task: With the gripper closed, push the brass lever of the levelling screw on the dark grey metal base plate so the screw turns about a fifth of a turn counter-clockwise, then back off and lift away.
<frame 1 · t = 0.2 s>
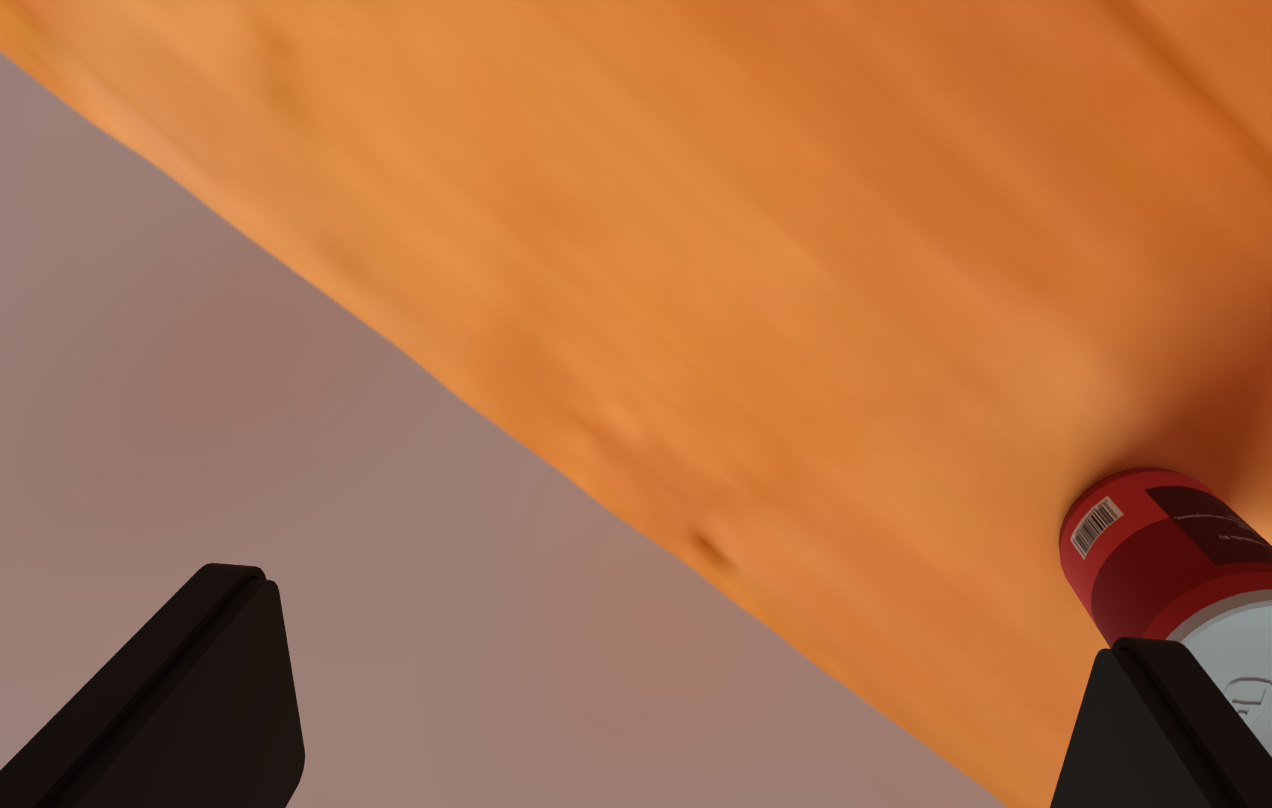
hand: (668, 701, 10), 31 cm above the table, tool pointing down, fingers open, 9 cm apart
canned food: (1131, 531, 43), on the table
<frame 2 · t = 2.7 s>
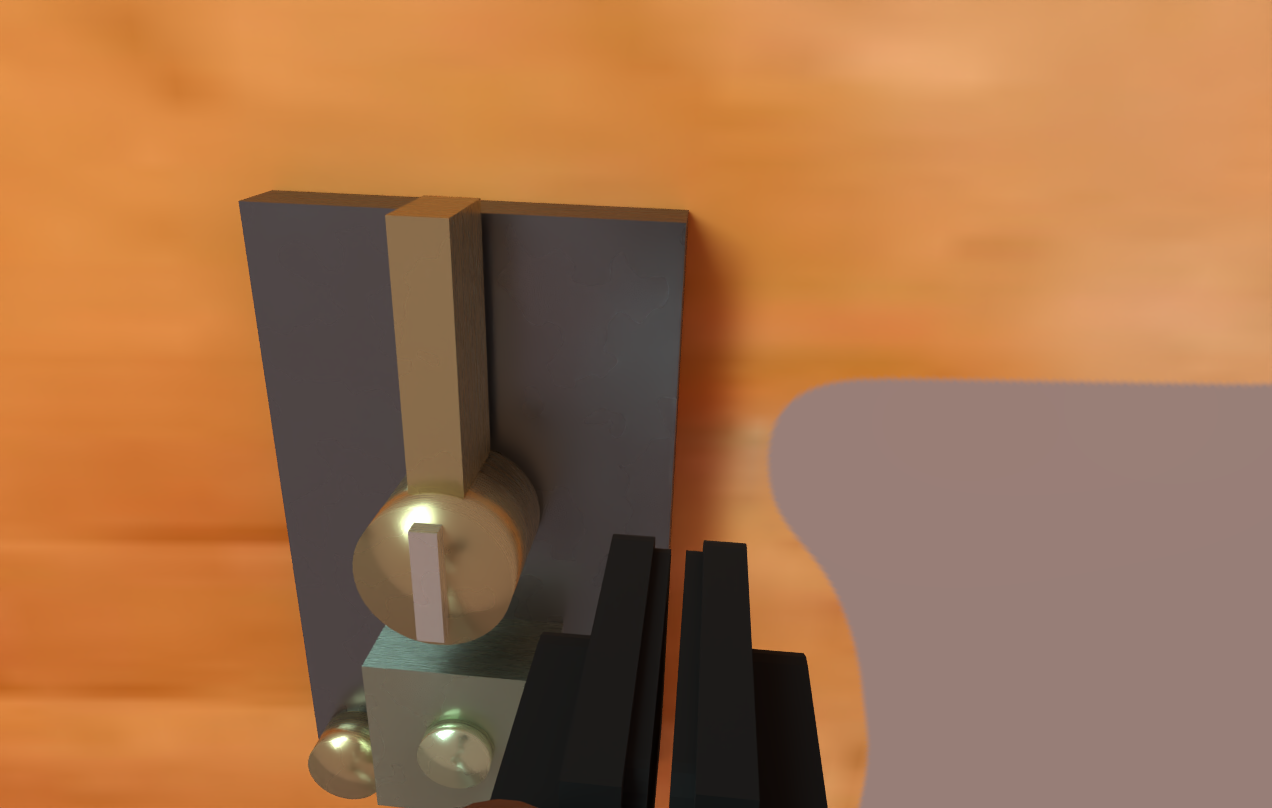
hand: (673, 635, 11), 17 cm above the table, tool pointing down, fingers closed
lever handle: (442, 428, 24), point 5 cm above the table, hinge at 0.0°
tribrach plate: (489, 512, 30), on the table
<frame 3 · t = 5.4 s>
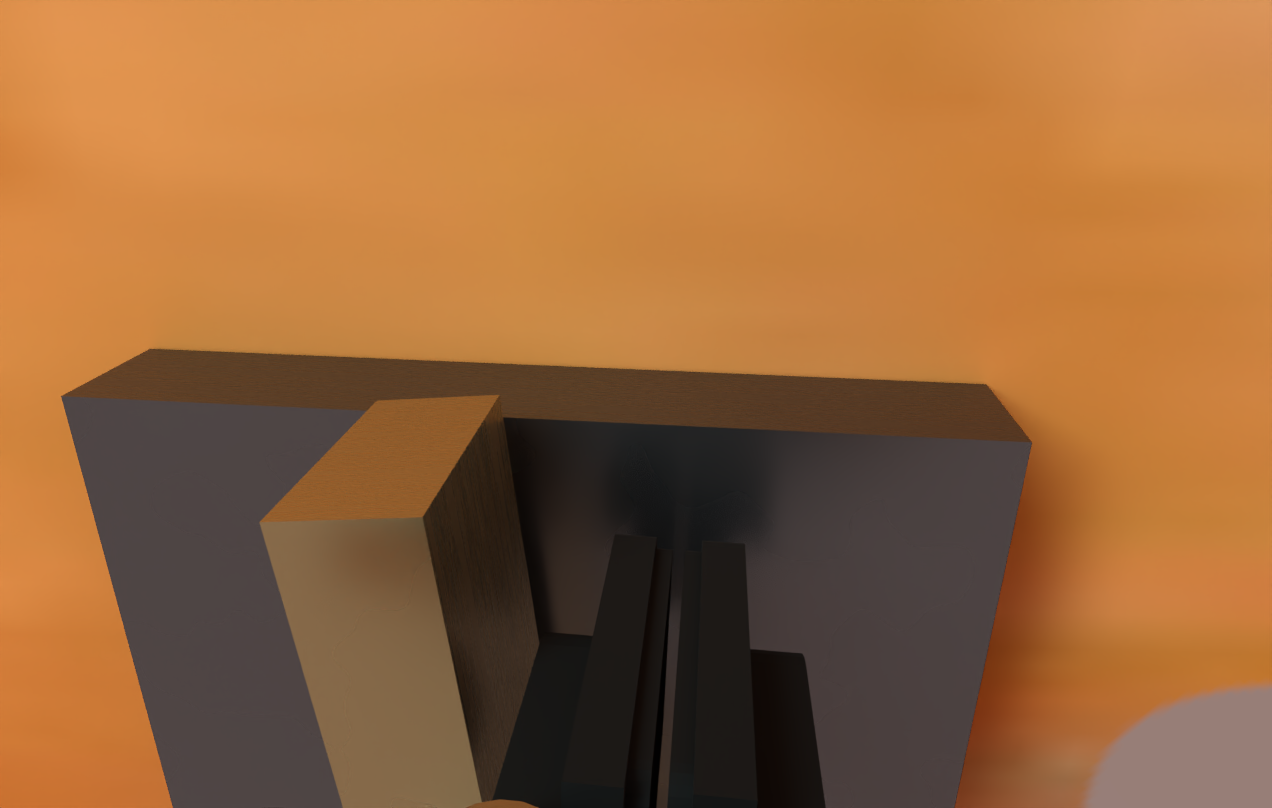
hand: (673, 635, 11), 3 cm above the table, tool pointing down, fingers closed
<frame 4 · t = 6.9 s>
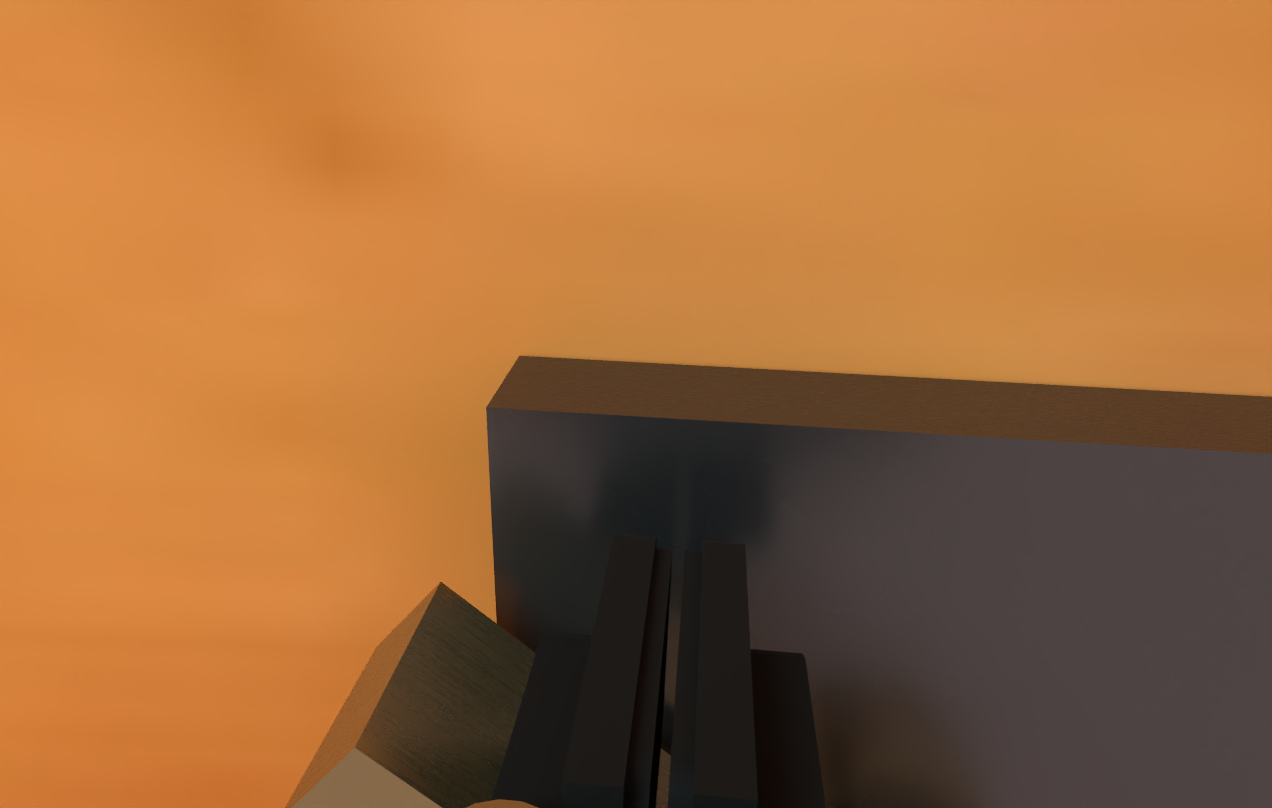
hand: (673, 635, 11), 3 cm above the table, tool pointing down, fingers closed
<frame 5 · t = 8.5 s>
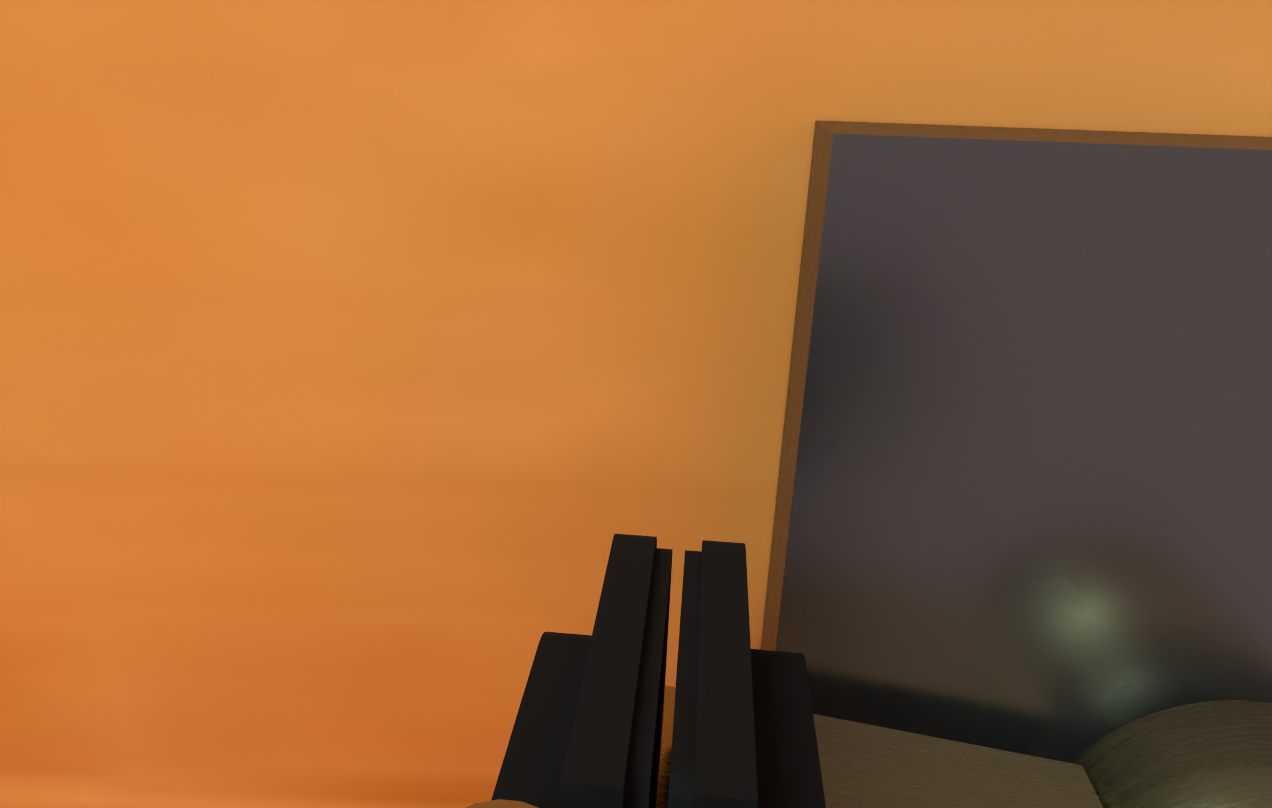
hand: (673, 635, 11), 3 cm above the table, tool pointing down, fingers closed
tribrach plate: (1114, 777, 15), on the table
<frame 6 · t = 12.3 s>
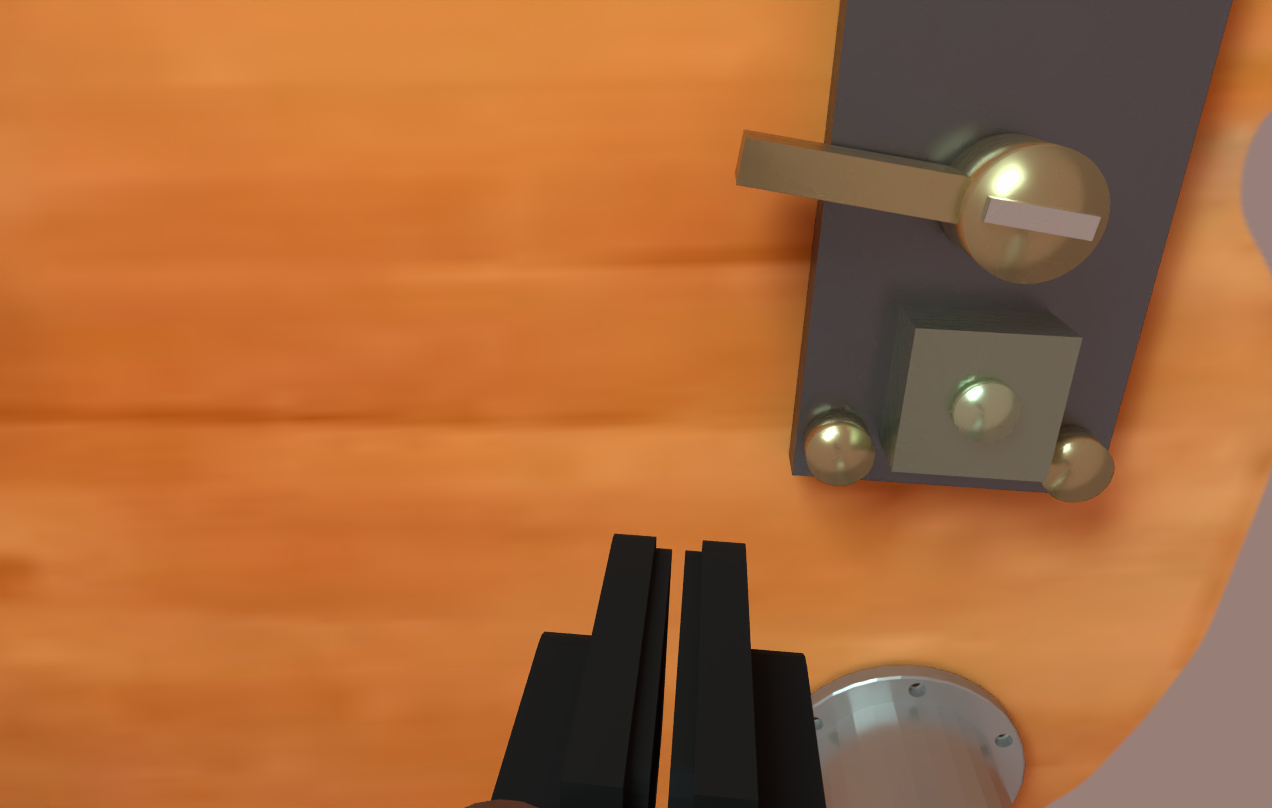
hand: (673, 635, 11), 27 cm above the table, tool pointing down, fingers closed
lever handle: (911, 188, 30), point 5 cm above the table, hinge at 82.7°
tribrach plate: (976, 224, 35), on the table
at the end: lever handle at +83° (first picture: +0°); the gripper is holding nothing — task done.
